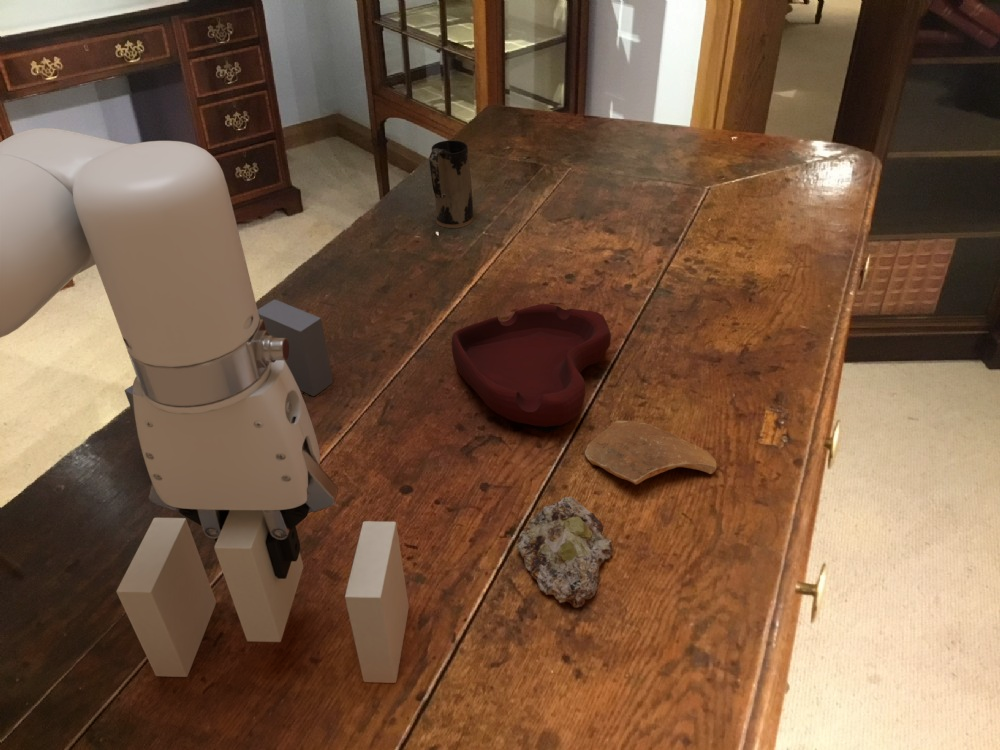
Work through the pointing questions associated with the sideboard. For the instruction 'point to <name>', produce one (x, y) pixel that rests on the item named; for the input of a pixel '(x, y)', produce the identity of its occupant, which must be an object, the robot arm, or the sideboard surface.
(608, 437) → the pottery shard
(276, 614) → the white book
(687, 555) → the sideboard surface
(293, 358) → the grey books
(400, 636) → the white books
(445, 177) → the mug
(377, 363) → the sideboard surface
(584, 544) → the mineral rock
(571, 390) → the ashtray
